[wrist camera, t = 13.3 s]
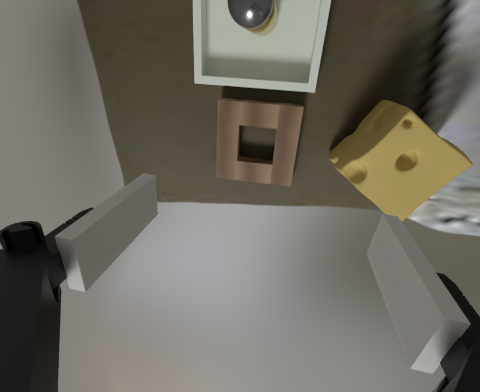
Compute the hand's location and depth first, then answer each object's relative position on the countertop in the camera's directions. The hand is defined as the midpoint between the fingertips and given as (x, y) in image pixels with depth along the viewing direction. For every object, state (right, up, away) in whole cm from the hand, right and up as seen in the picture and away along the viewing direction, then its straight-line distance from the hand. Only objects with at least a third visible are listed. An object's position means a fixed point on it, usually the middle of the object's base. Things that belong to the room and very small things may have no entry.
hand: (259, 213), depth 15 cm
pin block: (+2, +10, +26) cm, 27 cm away
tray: (+2, +24, +18) cm, 30 cm away
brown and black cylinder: (+2, +23, +18) cm, 29 cm away
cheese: (+19, +8, +23) cm, 31 cm away
